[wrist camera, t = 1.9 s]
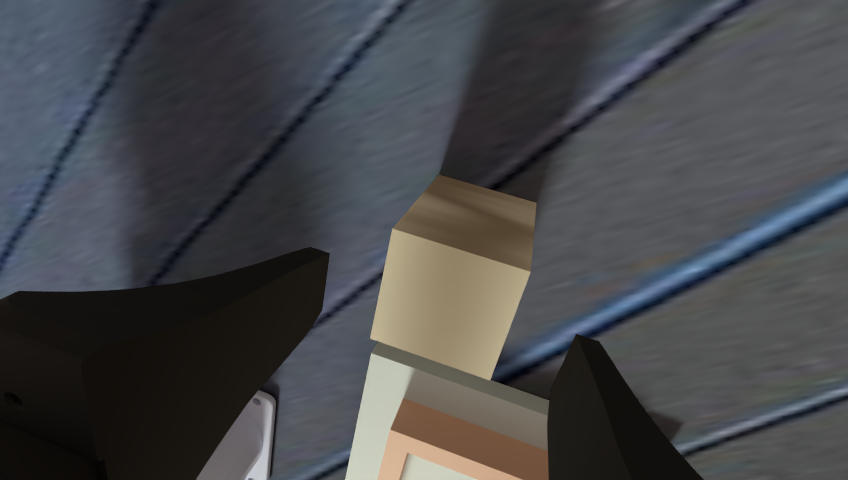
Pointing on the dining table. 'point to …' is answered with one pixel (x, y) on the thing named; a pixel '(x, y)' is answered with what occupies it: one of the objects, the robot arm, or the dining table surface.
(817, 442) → the dining table surface
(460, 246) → the maple peg
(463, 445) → the collar board
